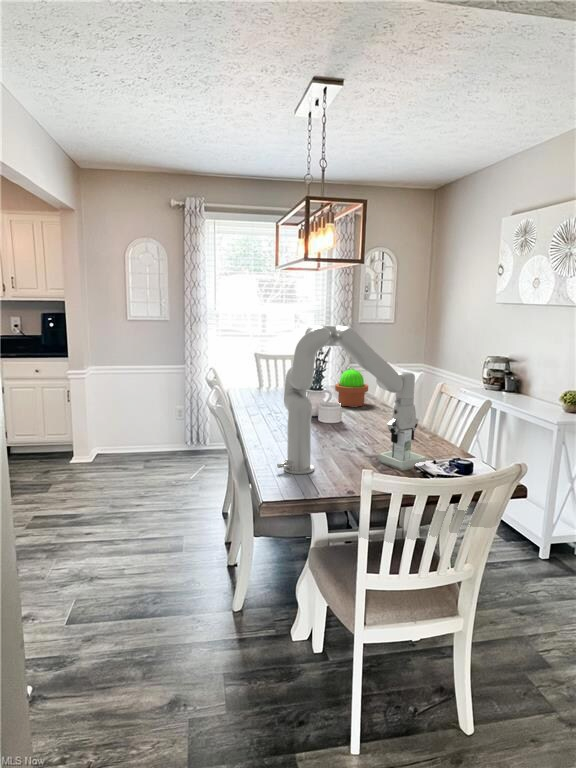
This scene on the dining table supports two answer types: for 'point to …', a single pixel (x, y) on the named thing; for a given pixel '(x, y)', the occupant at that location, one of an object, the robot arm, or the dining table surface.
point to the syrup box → (402, 445)
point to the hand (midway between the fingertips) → (402, 440)
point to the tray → (400, 465)
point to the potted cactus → (351, 388)
